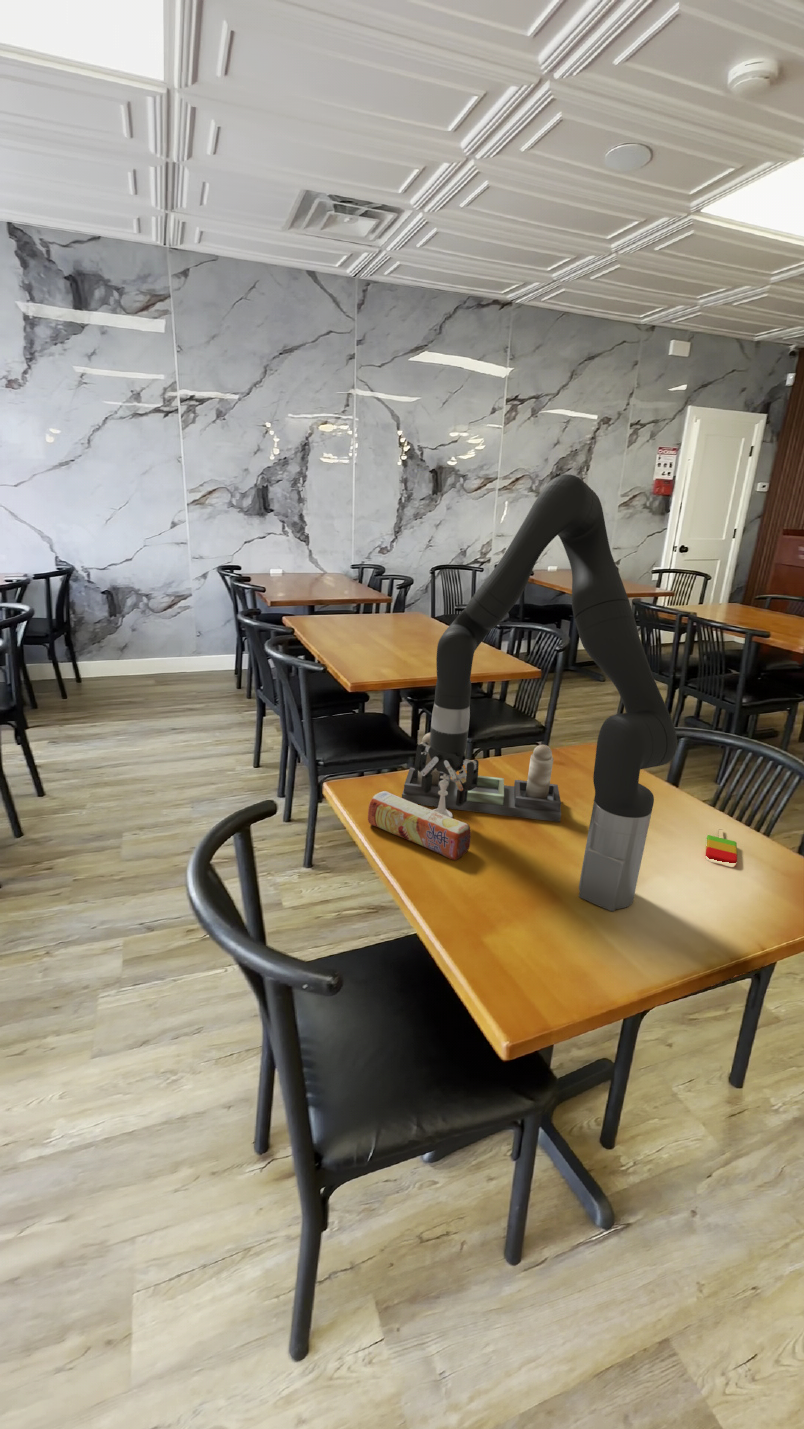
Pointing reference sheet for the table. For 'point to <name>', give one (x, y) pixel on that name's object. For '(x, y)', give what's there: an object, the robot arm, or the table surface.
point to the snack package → (419, 825)
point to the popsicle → (721, 849)
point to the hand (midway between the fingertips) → (442, 798)
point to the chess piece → (443, 797)
